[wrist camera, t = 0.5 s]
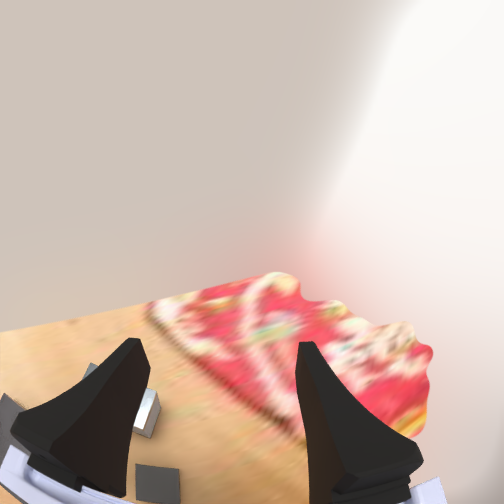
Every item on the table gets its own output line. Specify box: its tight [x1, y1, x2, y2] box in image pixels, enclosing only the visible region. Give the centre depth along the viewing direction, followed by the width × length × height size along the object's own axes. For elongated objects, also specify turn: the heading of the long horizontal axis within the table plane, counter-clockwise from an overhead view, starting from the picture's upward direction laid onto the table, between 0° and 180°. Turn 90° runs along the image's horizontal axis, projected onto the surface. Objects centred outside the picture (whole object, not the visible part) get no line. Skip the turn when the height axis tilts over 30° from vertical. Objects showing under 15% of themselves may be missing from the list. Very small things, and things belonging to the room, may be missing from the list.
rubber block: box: [136, 464, 180, 504], centre depth 17 cm, size 4×4×3 cm
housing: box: [82, 363, 161, 438], centre depth 21 cm, size 4×7×6 cm, turn 80°
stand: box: [0, 393, 31, 504], centre depth 13 cm, size 11×11×2 cm
